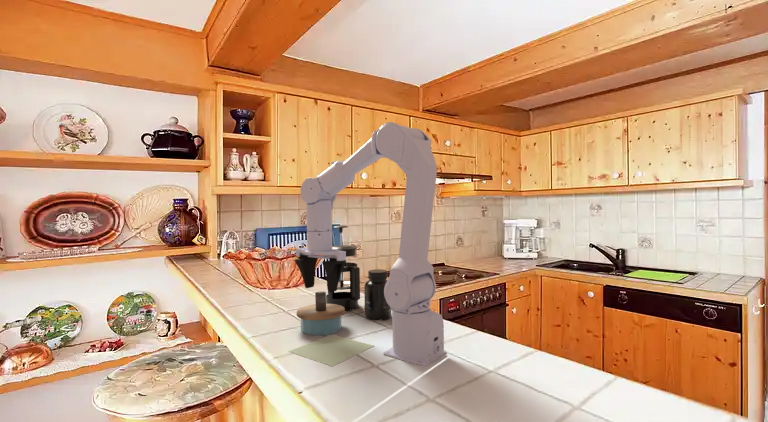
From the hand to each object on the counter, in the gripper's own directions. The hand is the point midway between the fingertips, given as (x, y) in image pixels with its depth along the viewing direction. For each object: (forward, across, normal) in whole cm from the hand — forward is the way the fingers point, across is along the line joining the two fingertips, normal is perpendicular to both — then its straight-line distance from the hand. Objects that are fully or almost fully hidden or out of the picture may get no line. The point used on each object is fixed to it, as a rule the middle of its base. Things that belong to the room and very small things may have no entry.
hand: (320, 289), depth 90 cm
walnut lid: (+6, 0, 0) cm, 6 cm away
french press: (+10, -9, +17) cm, 22 cm away
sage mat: (+9, +11, -8) cm, 16 cm away
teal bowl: (+10, 0, 0) cm, 10 cm away
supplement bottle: (+10, +5, +15) cm, 18 cm away
